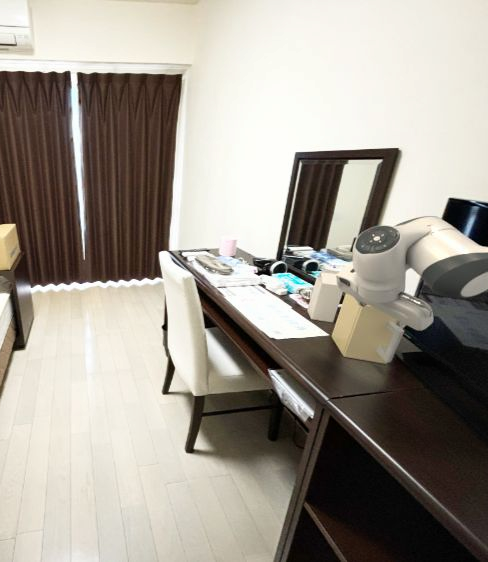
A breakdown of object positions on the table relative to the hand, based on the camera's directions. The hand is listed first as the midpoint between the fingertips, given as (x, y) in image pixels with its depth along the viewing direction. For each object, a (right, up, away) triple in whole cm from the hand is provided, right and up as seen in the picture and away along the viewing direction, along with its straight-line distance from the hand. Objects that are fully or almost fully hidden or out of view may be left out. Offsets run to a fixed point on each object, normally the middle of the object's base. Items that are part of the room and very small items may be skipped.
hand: (381, 314), depth 80 cm
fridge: (+8, -13, +18) cm, 24 cm away
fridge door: (+5, -16, +10) cm, 20 cm away
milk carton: (+9, -5, +37) cm, 39 cm away
